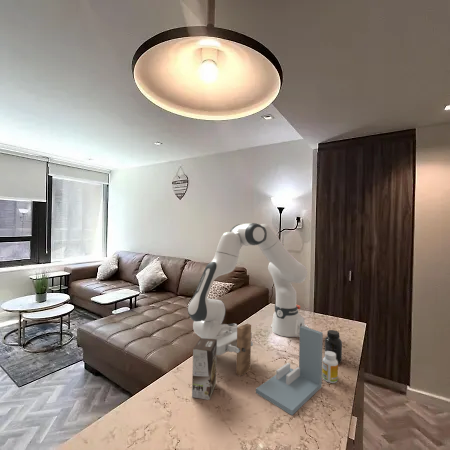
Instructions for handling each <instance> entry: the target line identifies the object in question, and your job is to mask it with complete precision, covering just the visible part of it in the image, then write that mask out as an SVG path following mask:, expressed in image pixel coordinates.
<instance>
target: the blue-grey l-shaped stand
mask: <svg viewBox="0 0 450 450" xmlns="http://www.w3.org/2000/svg"><path fill="white" fill-rule="evenodd" d="M323 333H324V332H323V331H319V330H315V329H312V328H310V327H309V328H307V327H304V326H301V327H300V337H299V342H298V343H299V349H298V350H299V351H298V352H299V353H298V354H299V355H298V366H297V367H295V368H294V369H293V368H292V367H291V362H286V363H285V364H283V365H282V366H280V367H279V368H278V369H276V370H275V375H273V376H272V377H270V378H269V379H268V380H265V382H263V383H262V384H260V385H259V386H257V387H256V388H255V394H256V395H258V396H260V397H261V398H263V399H265V401H269V403H270V404H273V405H274V406H276V407H278V408H279V409H281V410H282V411H284V412H286V413H287V414H289V415H290V416H294V414H296V413H297V412H298V411H299V410H300V409H301V407H302V406H304V404H306V403H307V401H309V400H310V399H311V398H312V397H313V396H314V395H315V394H316V393H317V392H319V390H320V389H321V388H323V387H322V386H323V385H322V384H323V383H322V382H323V377H322V366H323V342H324V340H323Z"/></svg>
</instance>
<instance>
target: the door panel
mask: <svg viewBox="0 0 450 450" xmlns="http://www.w3.org/2000/svg"><path fill="white" fill-rule="evenodd" d="M251 333H252V324H250V323H245V324H243V325H240V326H239V327H237V346H238V347H240V352H239V353H236V364H235V365H236V367H235V368H236V369H235V371H236V372H235V373H236V376H238V377H242V376H244V375H245V374H247V373H248V372H250V371H251V361H252V359H251V357H252V356H251V353H252V351H251V350H252V349H251V347H252V346H251V341H252V339H251Z"/></svg>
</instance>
